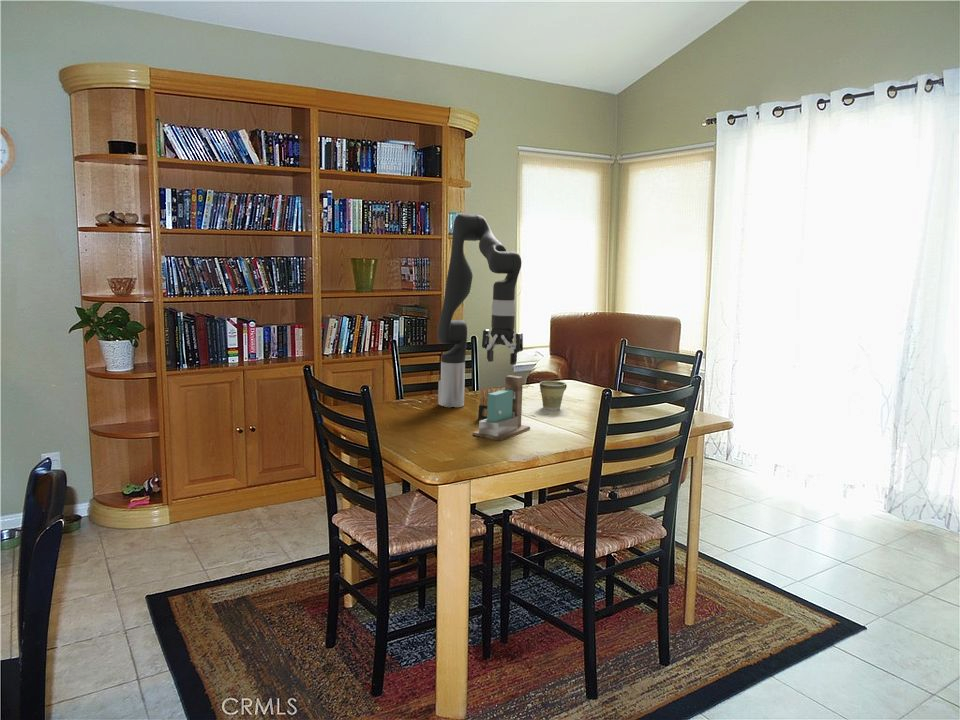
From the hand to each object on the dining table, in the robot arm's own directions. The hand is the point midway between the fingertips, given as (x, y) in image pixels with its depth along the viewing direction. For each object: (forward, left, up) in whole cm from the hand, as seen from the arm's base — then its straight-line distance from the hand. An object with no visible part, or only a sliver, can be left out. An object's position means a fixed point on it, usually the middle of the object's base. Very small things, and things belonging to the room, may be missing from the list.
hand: (501, 362), depth 241 cm
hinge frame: (0, +1, -24) cm, 24 cm away
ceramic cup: (-4, +47, -24) cm, 53 cm away
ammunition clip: (-12, +15, -24) cm, 31 cm away
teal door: (0, 0, -23) cm, 23 cm away
